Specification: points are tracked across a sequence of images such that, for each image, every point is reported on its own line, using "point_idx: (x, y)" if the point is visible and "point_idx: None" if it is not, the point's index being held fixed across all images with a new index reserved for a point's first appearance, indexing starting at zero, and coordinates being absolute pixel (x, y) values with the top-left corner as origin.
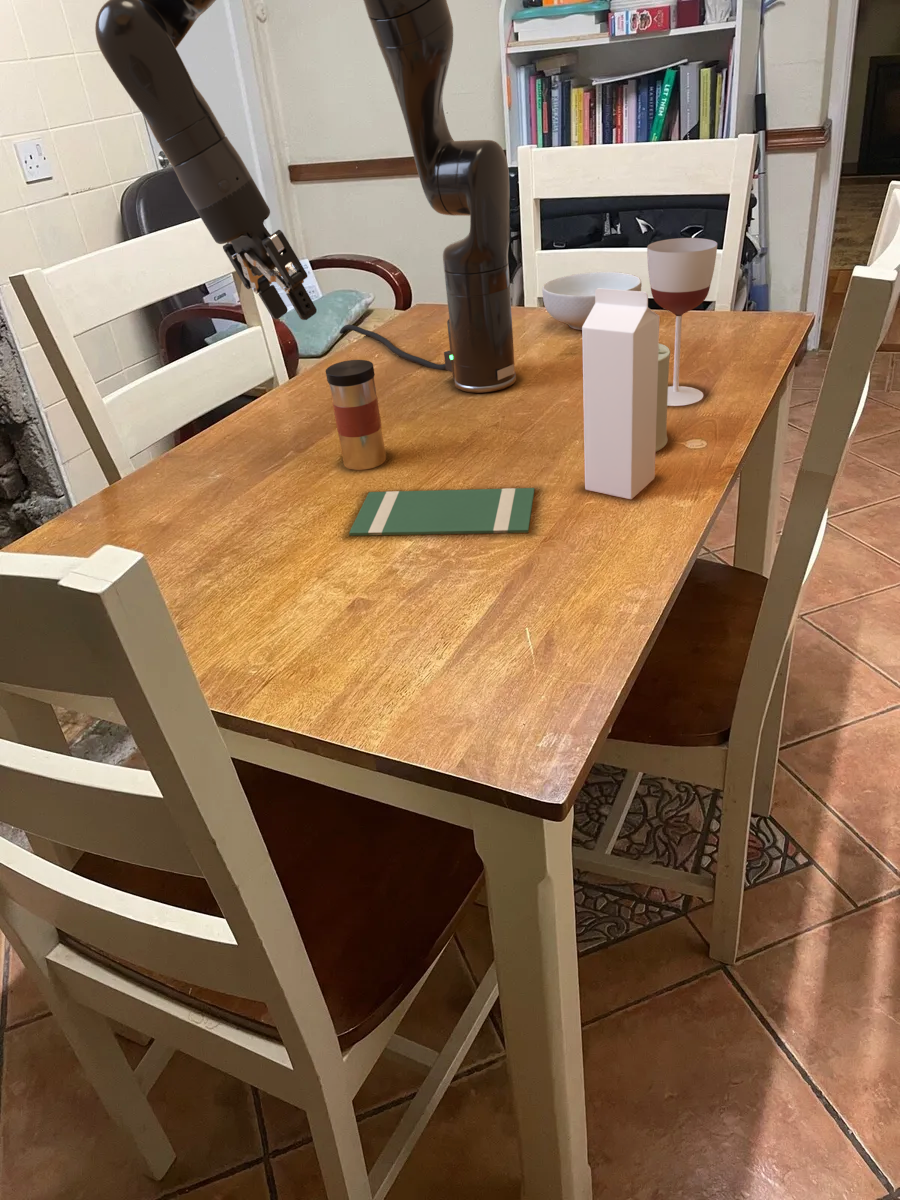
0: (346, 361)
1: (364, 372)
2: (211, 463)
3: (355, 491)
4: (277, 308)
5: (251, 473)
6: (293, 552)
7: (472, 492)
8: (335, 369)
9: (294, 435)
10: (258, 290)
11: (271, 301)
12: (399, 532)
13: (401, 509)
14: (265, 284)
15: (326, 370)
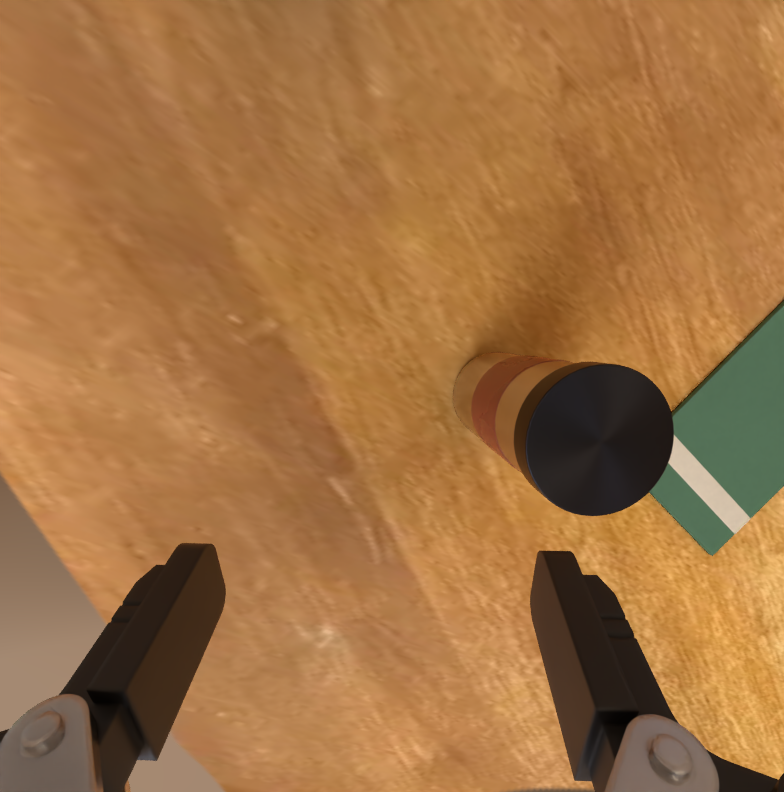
0: (541, 418)
1: (673, 429)
2: (256, 622)
3: None
4: (201, 606)
5: (367, 580)
6: (681, 634)
7: (768, 336)
8: (577, 481)
9: (251, 437)
10: (128, 785)
11: (181, 658)
12: (770, 498)
13: (719, 457)
14: (110, 758)
15: (561, 505)
